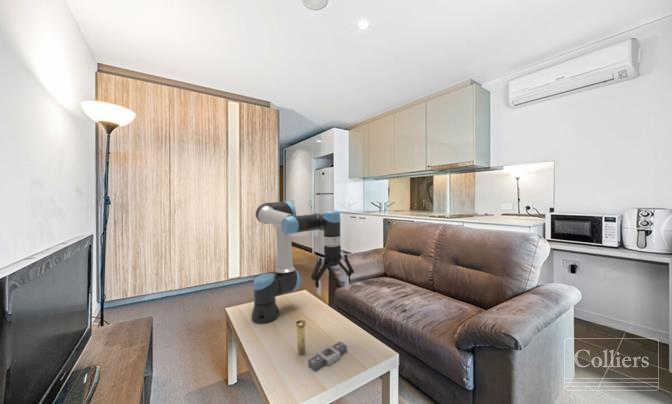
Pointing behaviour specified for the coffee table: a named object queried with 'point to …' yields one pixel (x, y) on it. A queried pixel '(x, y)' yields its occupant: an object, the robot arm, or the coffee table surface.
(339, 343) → the chain joint
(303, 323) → the pin
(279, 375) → the coffee table surface
